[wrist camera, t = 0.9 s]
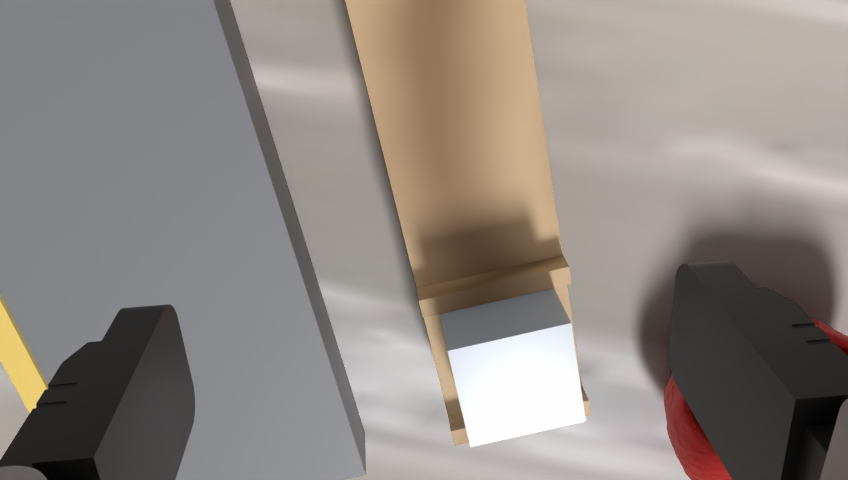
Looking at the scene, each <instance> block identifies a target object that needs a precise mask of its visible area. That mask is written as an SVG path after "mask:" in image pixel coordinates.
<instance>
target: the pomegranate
mask: <svg viewBox="0 0 848 480" xmlns="http://www.w3.org/2000/svg"><path fill="white" fill-rule="evenodd" d="M810 318H811V317H810ZM811 319H812V320H813V321H814V322H815V326H816V327H820V328H821V329H822V330H823V331H824V332H825V333H826V334H827V335H828V336H829V337H830V338H831V343H835V344H836V345H837V346H838V347H839V348H840V349H841V350H842V351H843V352H844V353H845V354H846V355H847V356H848V336H846V335H843V334H842V333H840V332H838V331H836V330H834V329H833V328H831V327H830V326H828V325H826V324H825V323H823V322H821V321H819V320H815V319H813V318H811ZM664 406H665V412H666V419H667V431H668V435H669V438H670V441H671V443H672V446H673V448H674V450H675V453H676V456H677V458H678V459H679V461H680V463H681V465H682V466H683V469H684V471H685V473H686V474H687V475H688V477H689V478H690V479H691V480H732V478H731V477H730V475H729V473H728V472H727V470H726V468H725V467H724V465H723V463H722V462H721V460H720V458H719V456H718V455H717V453H716V451H715V450H714V448H713V446H712V445H711V443H710V441H709V440H708V438H707V436H706V435H705V433H704V431H703V429H702V428H701V426H700V424H699V423H698V421H697V419H696V418H695V416H694V414H693V413H692V411H691V409H690V408H689V406H688V404H687V402H686V401H685V399H684V397H683V396H682V394H681V392H680V391H679V389H678V387H677V385H676V383H675V381H674V378H673V375H672V374H671V376H670V378H669V380H668V382H667V386H666V388H665V392H664Z"/></svg>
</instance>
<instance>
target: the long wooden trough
mask: <svg viewBox="0 0 848 480" xmlns="http://www.w3.org/2000/svg"><path fill="white" fill-rule="evenodd" d="M345 2H346V6H347V10H348V14H349V18H350V22H351V26H352V30H353V34H354V38H355V42H356V46H357V50H358V54H359V59H360V63H361V67H362V71H363V75H364V79H365V83H366V87H367V91H368V95H369V99H370V103H371V107H372V111H373V115H374V119H375V123H376V127H377V131H378V135H379V139H380V143H381V147H382V151H383V155H384V159H385V163H386V167H387V171H388V175H389V179H390V183H391V187H392V191H393V195H394V200H395V204H396V208H397V212H398V216H399V220H400V224H401V228H402V232H403V236H404V240H405V244H406V248H407V252H408V256H409V260H410V264H411V268H412V272H413V276H414V280H415V284H416V288H417V294H418V301H419V305H420V309H421V313H422V317H423V318H424V320H425V324H426V328H427V332H428V336H429V341H430V345H431V349H432V353H433V357H434V361H435V365H436V369H437V373H438V377H439V381H440V385H441V389H442V393H443V397H444V401H445V405H446V409H447V413H448V417H449V423H450V429H451V433H452V437H453V441H454V445H459V444H464V443H468V442H469V440H468V435H467V431H466V427H465V423H464V418H463V414H462V410H461V406H460V402H459V397H458V393H457V389H456V385H455V381H454V376H453V372H452V368H451V364H450V360H449V355H448V351H447V346H446V341H445V336H444V331H443V326H442V321H441V316H440V314H443V313H447V312H452V311H456V310H460V309H465V308H469V307H474V306H478V305H483V304H487V303H491V302H496V301H500V300H505V299H509V298H513V297H518V296H522V295H527V294H531V293H535V292H540V291H544V290H549V289H553V288H554V289H555V291H556V293H557V295H558V297H559V299H560V301H561V303H562V305H563V307H564V309H565V311H566V313H567V315H568V317H569V319H570V322H571V325H572V331H573V338H574V345H575V352H576V358H577V365H578V372H579V378H580V385H581V392H582V399H583V405H584V412H585V416H589V415H591V414H590V407H589V400H588V398H587V396H586V394H585V391H584V389H583V387H582V381H581V375H580V368H579V361H578V354H577V348H576V341H575V334H574V327H573V320H572V314H571V307H570V300H569V293H568V287H567V285H571V284H572V283H571V276H570V269H569V265H568V264H567V262H566V260H565V258H564V256H563V253H562V246H561V239H560V233H559V226H558V219H557V212H556V206H555V199H554V192H553V185H552V178H551V172H550V165H549V158H548V151H547V145H546V138H545V131H544V124H543V118H542V111H541V104H540V97H539V91H538V84H537V77H536V70H535V63H534V57H533V50H532V43H531V36H530V30H529V23H528V16H527V9H526V3H525V0H345Z"/></svg>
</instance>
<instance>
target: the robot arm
mask: <svg viewBox="0 0 848 480" xmlns="http://www.w3.org/2000/svg"><path fill="white" fill-rule="evenodd" d="M669 359H670V366H671V371H672V375H673V378H674V381H675V383H676V385H677V387H678V389H679V391H680V392H681V394H682V396H683V397H684V399H685V401H686V402H687V404H688V406H689V408H690V409H691V411H692V413H693V414H694V416H695V418H696V419H697V421H698V423H699V424H700V426H701V428H702V429H703V431H704V433H705V435H706V436H707V438H708V440H709V441H710V443H711V445H712V446H713V448H714V450H715V451H716V453H717V455H718V456H719V458H720V460H721V462H722V463H723V465H724V467H725V468H726V470H727V472H728V473H729V475H730V477H731V478H732V480H848V356H847V355H846V354H845V353H844V352H843V351H842V350H841V349H840V348H839V347H838V346H837V345H836V344H835V343H831V338H830V337H829V336H828V335H827V334H826V333H825V332H824V331H823V330H822V329H821V328H820V327H816V326H815V322H814V321H813V320H812V319H811V318H810V317H809V316H808V315H807V314H806V313H805V312H804V311H803V310H802V309H801V308H800V307H799V306H798V305H797V304H796V303H794V302H792V301H791V300H789V299H787V298H785V297H783V296H781V295H779V294H777V293H775V292H774V291H772V290H770V289H768V288H759V289H757V288H756V287H755V286H754V285H753V283H752V282H751V281H750V280H749V279H748V278H747V277H746V276H745V275H744V274H743V273H742V272H741V270H740V269H739V268H738V267H737V266H736V265H735V264H734V263H733V262H731V261H715V262H702V263H690V264H682V265H681V266H680V267H679V269H678V271H677V274H676V280H675V290H674V301H673V311H672V321H671V332H670V342H669ZM194 417H195V392H194V386H193V381H192V377H191V372H190V368H189V364H188V359H187V355H186V350H185V346H184V342H183V337H182V333H181V329H180V324H179V320H178V316H177V313H176V311H175V309H174V307H173V306H172V305H170V304H167V305H155V306H142V307H130V308H122V309H120V310H119V312H118V313H117V315H116V317H115V318H114V320H113V322H112V324H111V325H110V327H109V329H108V330H107V332H106V334H105V336H104V337H103V339H102V341H96V342H87V343H86V344H85V345H84V346H82V347H81V348H80V349H79V350H77V351H76V352H75V353H74V354H72V355H71V356H70V357H69V358H67V359H66V360H65V361H63V362H62V363H61V365H60V367H59V368H58V370H57V371H56V373H55V375H54V376H53V378H52V379H51V381H50V382H49V384H48V389H46V390H44V392H43V394H42V395H41V397H40V398H39V400H38V401H37V403H36V408H33V409H32V411H31V413H30V414H29V416H28V417H27V419H26V420H25V422H24V424H23V425H22V427H21V428H20V430H19V432H18V433H17V435H16V436H15V438H14V439H13V441H12V443H11V444H10V446H9V447H8V449H7V451H6V452H5V454H4V455H3V457H2V458H1V460H0V480H175V479H176V476H177V473H178V470H179V467H180V464H181V461H182V458H183V455H184V452H185V448H186V445H187V442H188V439H189V436H190V433H191V430H192V427H193V423H194Z"/></svg>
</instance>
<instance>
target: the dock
mask: <svg viewBox="0 0 848 480" xmlns="http://www.w3.org/2000/svg"><path fill="white" fill-rule="evenodd" d="M167 304H170V305H172V306H173V307H174V309H175V311H176V313H177V316H178V320H179V324H180V329H181V333H182V337H183V342H184V346H185V350H186V355H187V359H188V364H189V368H190V372H191V377H192V381H193V386H194V392H195V417H194V423H193V427H192V430H191V433H190V436H189V439H188V442H187V445H186V448H185V452H184V455H183V458H182V461H181V464H180V467H179V470H178V473H177V476H176V479H175V480H344V479H349V478H353V477H358V476H362V475H366V461H365V432H364V429H363V426H362V422H361V419H360V416H359V413H358V410H357V406H356V403H355V400H354V397H353V394H352V390H351V387H350V384H349V381H348V378H347V374H346V371H345V368H344V365H343V362H342V358H341V355H340V352H339V349H338V346H337V342H336V339H335V336H334V333H333V330H332V326H331V323H330V320H329V317H328V314H327V310H326V307H325V304H324V301H323V298H322V294H321V291H320V288H319V285H318V282H317V278H316V275H315V272H314V269H313V266H312V262H311V259H310V256H309V253H308V250H307V246H306V243H305V240H304V237H303V234H302V230H301V227H300V224H299V221H298V218H297V214H296V211H295V208H294V205H293V202H292V198H291V195H290V192H289V189H288V186H287V182H286V179H285V176H284V173H283V170H282V166H281V163H280V160H279V157H278V153H277V150H276V147H275V144H274V141H273V137H272V134H271V131H270V128H269V125H268V121H267V118H266V115H265V112H264V109H263V105H262V102H261V99H260V96H259V93H258V89H257V86H256V83H255V80H254V77H253V73H252V70H251V67H250V64H249V61H248V57H247V54H246V51H245V48H244V45H243V41H242V38H241V35H240V32H239V29H238V25H237V22H236V19H235V16H234V13H233V9H232V6H231V3H230V0H0V361H1V362H2V364H3V366H4V368H5V370H6V371H7V373H8V375H9V377H10V379H11V380H12V382H13V384H14V386H15V388H16V390H17V391H18V393H19V395H20V397H21V399H22V400H23V402H24V404H25V406H26V408H27V410H28V411H29V413H31V411H32V409H33V408H36V403H37V401H38V400H39V398H40V397H41V395H42V394H43V392H44V390H46V389H48V384H49V382H50V381H51V379H52V378H53V376H54V375H55V373H56V371H57V370H58V368H59V367H60V365H61V363H62V362H63V361H65V360H66V359H67V358H69V357H70V356H71V355H72V354H74V353H75V352H76V351H77V350H79V349H80V348H81V347H82V346H84V345H85V344H86V343H87V342H96V341H102V339H103V337H104V336H105V334H106V332H107V330H108V329H109V327H110V325H111V324H112V322H113V320H114V318H115V317H116V315H117V313H118V312H119V310H120V309H122V308H130V307H142V306H155V305H167Z"/></svg>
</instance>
